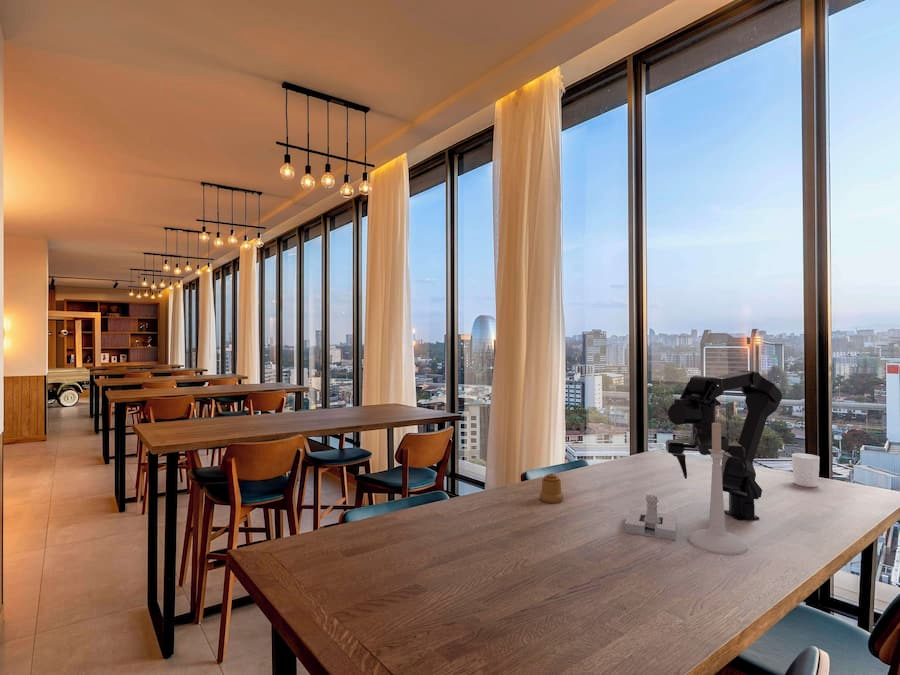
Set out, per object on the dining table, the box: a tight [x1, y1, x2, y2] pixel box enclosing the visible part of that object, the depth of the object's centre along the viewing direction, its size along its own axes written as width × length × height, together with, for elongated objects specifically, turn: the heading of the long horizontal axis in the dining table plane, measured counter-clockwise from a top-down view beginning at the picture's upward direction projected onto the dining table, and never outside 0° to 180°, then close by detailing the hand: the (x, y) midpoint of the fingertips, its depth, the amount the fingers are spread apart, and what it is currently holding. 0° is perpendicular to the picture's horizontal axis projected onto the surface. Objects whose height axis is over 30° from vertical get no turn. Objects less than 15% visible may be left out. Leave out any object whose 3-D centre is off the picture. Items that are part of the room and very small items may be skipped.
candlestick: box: [687, 421, 749, 556], centre depth 120 cm, size 13×13×30 cm
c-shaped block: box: [624, 508, 678, 541], centre depth 130 cm, size 12×12×2 cm
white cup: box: [791, 452, 820, 488], centre depth 170 cm, size 8×8×10 cm
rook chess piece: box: [643, 494, 661, 529], centre depth 130 cm, size 4×4×8 cm
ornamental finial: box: [539, 473, 565, 504], centre depth 153 cm, size 8×8×8 cm
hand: (704, 479), depth 133 cm, fingers open, 9 cm apart
